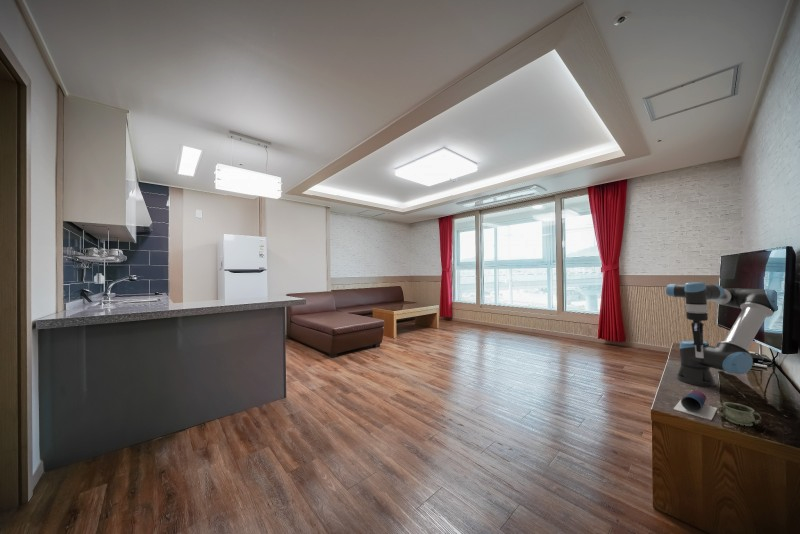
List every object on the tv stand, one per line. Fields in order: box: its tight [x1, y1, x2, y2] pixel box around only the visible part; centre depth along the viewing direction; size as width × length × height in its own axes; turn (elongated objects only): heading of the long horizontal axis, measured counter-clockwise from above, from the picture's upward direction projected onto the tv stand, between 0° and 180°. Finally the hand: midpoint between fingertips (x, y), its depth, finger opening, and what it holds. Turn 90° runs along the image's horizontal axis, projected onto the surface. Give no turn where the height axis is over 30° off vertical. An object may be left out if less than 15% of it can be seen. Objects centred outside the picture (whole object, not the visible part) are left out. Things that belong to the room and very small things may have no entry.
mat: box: [673, 399, 718, 421], centre depth 130 cm, size 16×12×1 cm
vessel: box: [717, 401, 762, 427], centre depth 119 cm, size 12×9×6 cm
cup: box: [680, 390, 707, 412], centre depth 131 cm, size 7×7×15 cm
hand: (699, 357), depth 143 cm, fingers closed
